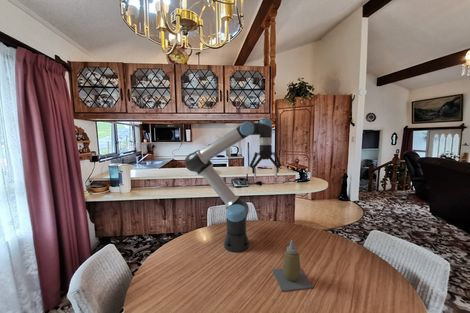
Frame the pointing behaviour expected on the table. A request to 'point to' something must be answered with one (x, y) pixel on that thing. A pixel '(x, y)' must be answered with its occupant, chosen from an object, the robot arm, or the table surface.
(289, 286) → the mat
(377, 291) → the table surface
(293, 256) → the squeeze bottle
